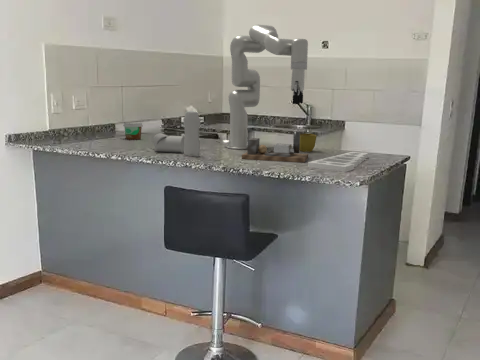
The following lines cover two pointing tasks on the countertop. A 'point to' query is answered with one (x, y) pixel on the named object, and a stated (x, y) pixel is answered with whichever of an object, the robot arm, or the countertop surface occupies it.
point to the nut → (262, 149)
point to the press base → (270, 154)
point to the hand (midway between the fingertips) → (297, 103)
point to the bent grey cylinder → (168, 143)
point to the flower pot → (307, 142)
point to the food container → (133, 131)
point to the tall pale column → (192, 134)
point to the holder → (339, 162)
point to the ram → (289, 145)
